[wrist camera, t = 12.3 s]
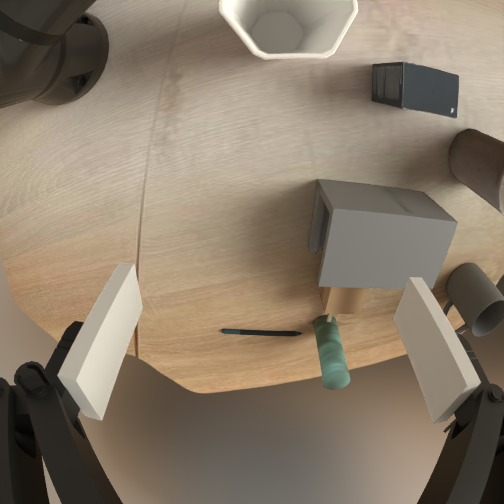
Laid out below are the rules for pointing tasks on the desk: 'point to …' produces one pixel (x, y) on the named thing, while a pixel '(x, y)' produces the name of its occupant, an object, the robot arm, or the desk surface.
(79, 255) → the desk surface
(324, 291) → the tethered cylinder
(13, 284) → the desk surface
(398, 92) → the box
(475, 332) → the mug
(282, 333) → the pen
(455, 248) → the desk surface
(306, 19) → the cup
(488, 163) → the pillar candle
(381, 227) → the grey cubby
